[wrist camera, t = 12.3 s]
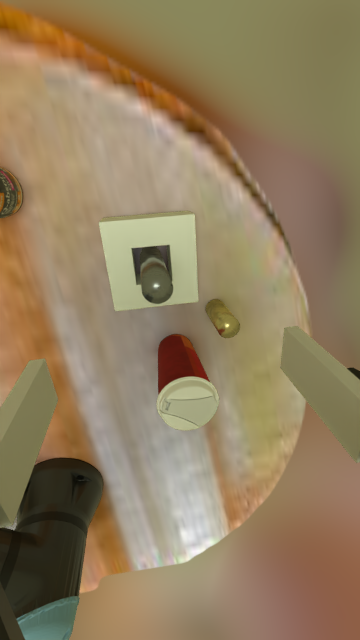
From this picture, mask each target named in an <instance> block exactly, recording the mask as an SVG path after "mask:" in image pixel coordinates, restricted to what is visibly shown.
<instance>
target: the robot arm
mask: <svg viewBox="0 0 360 640" xmlns="http://www.w3.org/2000/svg"><path fill="white" fill-rule="evenodd" d="M280 368H281V369H282V371H283V372H284V373H285V374H286V376H287V377H288V378H289V379H290V381H291V382H292V383H293V384H294V386H295V387H296V388H297V389H298V391H299V392H300V393H301V394H302V396H303V397H304V398H305V399H306V401H307V402H308V403H309V404H310V406H311V407H312V408H313V409H314V411H315V412H316V413H317V414H318V416H319V417H320V418H321V419H322V421H323V422H324V423H325V424H326V426H327V427H328V428H329V429H330V431H331V432H332V433H333V434H334V436H335V437H336V438H337V439H338V441H339V442H340V443H341V444H342V446H343V447H344V448H345V450H346V451H347V452H348V453H349V454H350V456H351V457H352V458H353V459H354V461H355V462H356V463H358V462H360V371H358V370H356V369H354V368H345V367H344V366H343V365H342V364H341V363H340V362H338V361H337V360H336V359H335V358H334V357H333V356H332V355H330V354H329V353H328V352H327V351H326V350H325V349H323V348H322V347H321V346H320V345H319V344H318V343H316V342H315V341H314V340H313V339H312V338H311V337H309V336H308V335H307V334H306V333H305V332H304V331H303V330H301V329H300V328H299V327H298V326H293V327H286V328H284V337H283V347H282V356H281V366H280ZM57 402H58V398H57V394H56V391H55V388H54V385H53V382H52V379H51V376H50V373H49V370H48V367H47V364H46V361H45V359H38V360H31V361H29V362H28V364H27V366H26V367H25V369H24V371H23V372H22V374H21V376H20V377H19V379H18V380H17V382H16V384H15V385H14V387H13V389H12V390H11V392H10V394H9V395H8V397H7V398H6V400H5V402H4V403H3V405H2V407H1V408H0V640H69V638H70V636H71V634H72V630H73V625H74V620H75V615H76V610H77V605H78V603H79V590H80V583H81V576H82V568H83V561H84V553H85V546H86V538H87V531H88V527H89V525H90V522H91V520H92V518H93V516H94V513H95V511H96V509H97V507H98V505H99V502H100V500H101V497H102V490H103V479H102V476H101V475H100V473H99V472H98V471H97V470H96V469H95V468H94V467H93V466H91V465H89V464H87V463H85V462H83V461H79V460H75V459H65V458H62V459H52V460H48V461H44V462H42V463H39V464H37V465H35V462H36V459H37V457H38V454H39V451H40V448H41V446H42V443H43V440H44V437H45V435H46V432H47V429H48V426H49V424H50V421H51V418H52V415H53V413H54V410H55V407H56V404H57ZM34 465H35V466H34ZM16 514H17V526H16V529H15V531H14V530H11V529H7V528H3V527H8V526H12V525H13V522H14V520H15V517H16Z"/></svg>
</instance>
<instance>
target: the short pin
mask: <svg viewBox="0 0 360 640" xmlns="http://www.w3.org/2000/svg"><path fill="white" fill-rule="evenodd" d="M206 313H207V314H208V316H209V318H210V319H211V321H212V323H213V324H214V326H215V328H216V329H217V331H218V333H219V334H220V335H221V336H222V337H224V338H230V337H233V336H235V335H236V334H237V333H238V331H239V329H240V324H239V322H238V320H237V319H236V318H235V317H234V315H233V314H232V313H231V312H230V311H229V309H228V308H227V307H226V306H225V304H224V303H223V302H222V301H221V300H218V299H214V300H211V301H210V302H209V303H208V304H207V305H206Z"/></svg>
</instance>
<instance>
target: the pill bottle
mask: <svg viewBox="0 0 360 640" xmlns="http://www.w3.org/2000/svg"><path fill="white" fill-rule="evenodd" d="M21 204H22V190H21V187H20V185H19V183H18V181H17V179H16V178H15V177H14V176H13V175H12V174H11V173H10V172H9V171H7V170H6V169H4V168H2V167H0V218H4V217H8V216H11V215H12V214H14V213H16V212H17V210H18V209H19V208H20V206H21Z"/></svg>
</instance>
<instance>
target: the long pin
mask: <svg viewBox="0 0 360 640" xmlns="http://www.w3.org/2000/svg"><path fill="white" fill-rule="evenodd" d="M140 270H141V289H142V294H143V296H144V298H145V299H146V300H147V301H149V302H151V303H154V304H161V303H164V302H166V301H167V300H168V299H169V298H170V297H171V295H172V293H173V284H172V281H171V279H170V276H169V273H168V271H167V268H166V265H165V262H164V260H163V257H162V254H161V252H160V250H159V249H158V248H157V247H155V246H150V247H144V248H143V249H142V250H141V252H140Z"/></svg>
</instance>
